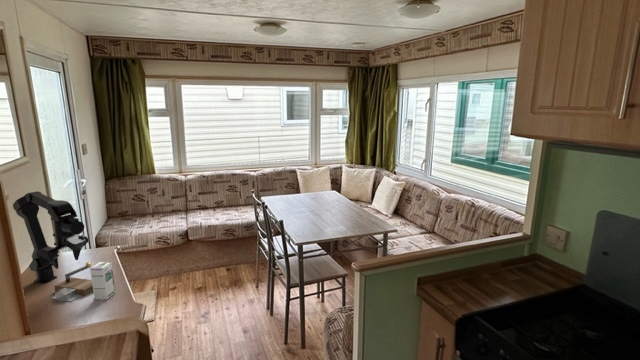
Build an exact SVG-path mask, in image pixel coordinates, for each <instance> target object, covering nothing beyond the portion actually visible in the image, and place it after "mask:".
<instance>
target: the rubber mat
mask: <svg viewBox="0 0 640 360" xmlns="http://www.w3.org/2000/svg"><path fill="white" fill-rule="evenodd" d="M80 297H82V296H81V295H76V296H74V297H72V298H70V299H68V300H63V299H58V300H57V301H63V302H70V303H71V302H73V301H75V300H77V299H78V298H80ZM51 298H53V299H52V300H56V298H55V295H54V296H52V297H51Z"/></svg>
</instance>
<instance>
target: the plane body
mask: <svg viewBox="0 0 640 360" xmlns="http://www.w3.org/2000/svg"><path fill="white" fill-rule="evenodd" d="M53 287H54V293H56V292H57V291H59V290H61V289H63V288H70V289H76V291H77V295H81V296H80V297H87V296H88V295H90V294H92V293H94V292H93V285H92V279H86V278H80V277H79V278H78V277H72V276H70V282H66V279H64V280H62V281H61V282H59V283H56V284H55V285H54V286H53Z"/></svg>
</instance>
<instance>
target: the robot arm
mask: <svg viewBox="0 0 640 360" xmlns="http://www.w3.org/2000/svg"><path fill="white" fill-rule="evenodd" d="M24 194H25V195H23V196H21V197H19V198H17V199H16V200H15V201H14V202H13V204H12V209H13V210H14V211H15V212H16V215H17V216H18V217H20V218H21V219H23V221H24V224H25V228H26V229H27V233H28V235H29V239H30V242H31V245H32V246H33V247H32V248H33V252H32V255H31V258H32V260H31V262H30V264H29V265H28V268H29V270H30V271H32V272H35V277H36V279H34V280H33V283H38V284H39V283H40V284H45V283H48V282H50V281H52V280H54V279H57V278H58V275H57V276H56V275H54V274H55V272H54V270H53V268H55V269H59V260H58V258H59V256H60V254H59V251H62V250H64V249H66V248H69V249H70V250H71V251H72V254H73V257H74V260H75V261H79V258H80V256H81V251H82V249H83V248H84V247H85V246H87V244H88V243H89V242H90V240H89V238H88V236H86V234H81V233H83V232H84V230H85V224H84V223H83V222H82V221H80V219H79V218H78V215H77V211H76V210H75V209H74V207H73V206H72V203H70V202H69V201H67V200H59V199H58V200H57V199H53V198H51V197H50V196H47V195H45V194H44V193H42V192H41V191H32V192H27V193H24ZM40 207H41V208H43V209H45V210H47V214H48V215H50V216H51V217H50V220H51V221H53V227H54V233H52V236H53V237H55V242H54V243H53V245H54V246H53V247H52V246H49V245H48V243H47V241H46V238H45V235H44V232H43V230H42V229H43V228H42V226H41V224H40V220H39V217H38V213H39V211H40ZM80 234H81V235H80Z"/></svg>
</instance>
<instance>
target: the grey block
mask: <svg viewBox="0 0 640 360" xmlns="http://www.w3.org/2000/svg"><path fill="white" fill-rule="evenodd" d="M76 295H77V291H76V289H70V288H63V289H61V290H59V291H57V292H54V296H55V298H56V299H63V300H68V299H70V298H72V297H74V296H76ZM56 299H55V300H56ZM63 300H62V301H63Z"/></svg>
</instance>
